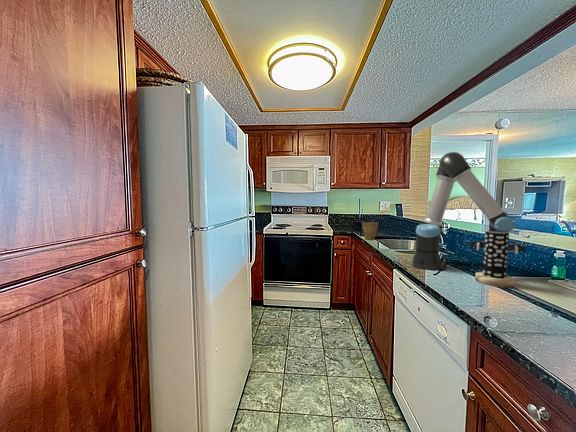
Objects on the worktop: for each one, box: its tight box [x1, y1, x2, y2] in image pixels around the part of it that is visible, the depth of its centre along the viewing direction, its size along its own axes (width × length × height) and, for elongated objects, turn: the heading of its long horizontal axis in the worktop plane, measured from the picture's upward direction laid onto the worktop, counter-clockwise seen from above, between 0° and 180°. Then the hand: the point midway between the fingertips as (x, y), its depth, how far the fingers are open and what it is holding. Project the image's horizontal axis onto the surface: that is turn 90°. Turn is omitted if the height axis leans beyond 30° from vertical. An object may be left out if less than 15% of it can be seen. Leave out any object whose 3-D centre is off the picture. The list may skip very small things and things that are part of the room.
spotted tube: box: [482, 230, 510, 279], centre depth 117 cm, size 8×8×20 cm
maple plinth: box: [474, 271, 516, 289], centre depth 117 cm, size 14×14×3 cm
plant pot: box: [361, 221, 379, 241], centre depth 242 cm, size 15×15×16 cm
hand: (496, 249), depth 115 cm, fingers open, 13 cm apart
